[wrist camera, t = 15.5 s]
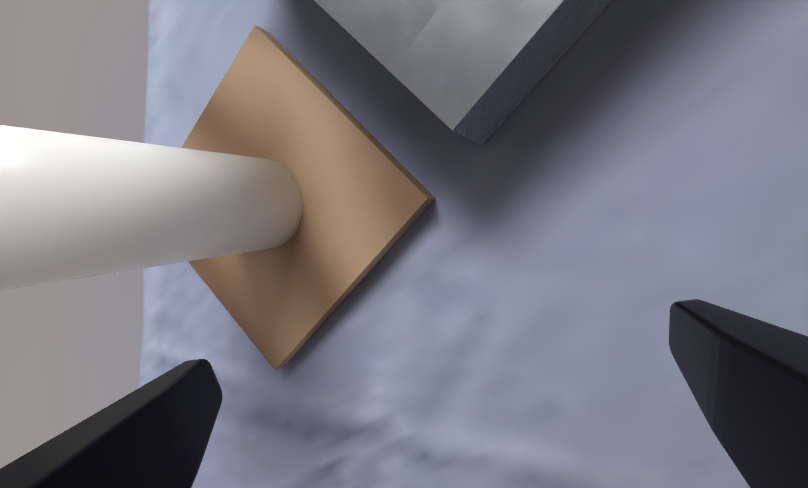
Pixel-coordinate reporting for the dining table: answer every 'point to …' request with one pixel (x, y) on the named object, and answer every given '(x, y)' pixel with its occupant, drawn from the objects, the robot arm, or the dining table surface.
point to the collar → (467, 50)
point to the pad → (321, 193)
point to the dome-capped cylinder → (131, 205)
